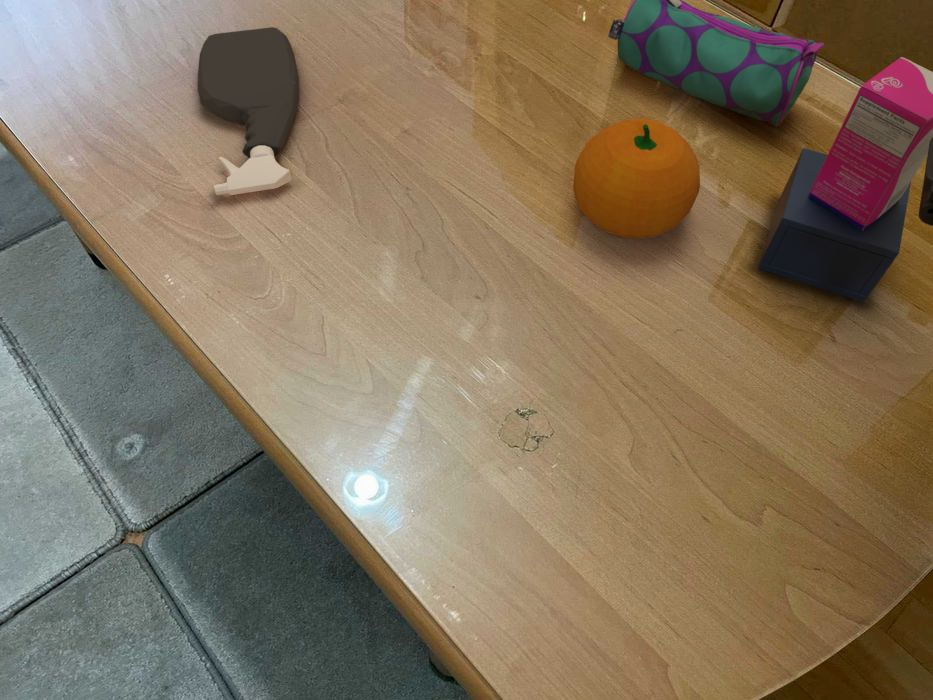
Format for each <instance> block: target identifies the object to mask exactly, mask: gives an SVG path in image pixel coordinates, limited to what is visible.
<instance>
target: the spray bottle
mask: <svg viewBox="0 0 933 700" xmlns="http://www.w3.org/2000/svg"><path fill="white" fill-rule="evenodd" d="M197 93H198V96H199V101H200V103H201V104H202V106H204V108H205V110H206V111H207V112H209V113H211V114H212V115H214V116H216V117H218V118H220V119H222V120H223V121H226V122H230V123H233V124H236V125H241V126H244V128H245V132H246V133H245V135H244V140H245V142H246V143H244V145H243V147H242V154H243V156H245V157H247V158H248V159H247V160H246V161H245V162H244V163H243V164H242V165H241V166H240V167H238V166H236V165H235V164H233V163H232V162H230V160H228V159H226V158H225V157H223V156H219V157H218V161H219V162H220V163H221V164H222V166H223V167H224V168H225V169H226V170H227V171H228V173H229V176H228V177H226V182H222V183H218V184H214V185H213V190H214V193H215V195H216V196H220V195H228V194H229V196H233V195H240V194H241V195H242V194H248V193H253V192H259V191H266V190H273V189H277V188H278V189H279V187H282V186H283V185H285V184H287V183H289V182H291V181H292V176H291V172H290V171H291V170H290V169H288V168H286V167H283V166H282V165H280V164H279V163H278V161H277V160H276V158H275V157H277V156H279V155H280V154H281V152H282V151H283V148H284V145H285V144H286V141H287V139H288V137H289V135H290V132H291V130H292V128H293V125H294V123H295V119H296V116H297V114H298V108H299V101H300V76H299V71H298V66H297V61H296V56H295V52H294V50H293V47H292V45H291V42H290V40H289V38H288V36H287V35H286V34H285V33H284V32H283V31H281V30H280V29H278V27H274V26H270V27H263V28H261V27H260V28H254V29H253V28H252V29H246V30H245V29H244V30H236V31H230V32H229V31H227V32H219V33H214V34H211V35H210V34H209V35H208V37H206V39H205V41H204V42H203V44H202V47H201V49H200V53H199V58H198V69H197Z"/></svg>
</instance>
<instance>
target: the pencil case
mask: <svg viewBox="0 0 933 700" xmlns="http://www.w3.org/2000/svg"><path fill="white" fill-rule="evenodd" d="M607 37H608V38H609V39H612V40H614V41H617V57H618V60H619V61H620V62H621V63H623V64H625V65H627V66H629V67H630V68H631V69H632V70H634V71H636V72H638V73H640V74H642V75H644V76H646V77H647V78H650V79H652V80H654V81H656V82H660V83H663V84H665V85H667V86H668V87H671V88H673V89H675V90H677V91H680V92H682V93H684V94H686V95H688V96H692V97H694V98H696V99H699V100H702V101H705V102H707V103H710V104H713V105H715V106H718V107H721V108H724V109H727V110H730V111H732V112H735V113H737V114H740V115H744V116H749V117H750V118H752V119H755V120H757V121H762V122H768V123H769V124H770V125H773V126H774V127H779V126H780V125H782V123H783V121H784V120H785V118H786V116H787V115H788V114H789V113H790V112H791V110H792V109H793V107H794V106H795V104H796V102H797V100H798V98H799V97H800V95H801V94H802V92H803V90H804V89H805V87H806V86H807V83H808V82H809V80H810V77H811V74H812V71H813V67H814V65H815V62H816V60H817V56H818V54H819V50H820V49H822V48H823V47H824V45H825V43H824V42H816V41H815V40H813V39H807V38H795V37H793V36H790V35H787V34H785V33H782V32H775V31H768V30H766V29H762V28H760V27H756V26H753V25H751V24H747V23H745V22H742V21H739V20H736V19H733V18H730V17H727V16H724V15H720V14H715V13H712V12H708V11H705V10H702V9H699V8H697V7H695V6H692V4H690V3H688V2H686V1H684V0H633V1H632V2H631V4H630V5H629V8H628V10H627V12H626V14H625V17H624V19H621V18H618V19H613V21H612V23H611V25H610V29H609V32H608V35H607Z"/></svg>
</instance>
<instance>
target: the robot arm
mask: <svg viewBox="0 0 933 700" xmlns="http://www.w3.org/2000/svg"><path fill="white" fill-rule="evenodd" d="M923 175H924V176H923V181H922V189H921V194H920V195H921V196H920V203H919V209H918V218H919V220H920V222H922V223H924V224H926V225H928V226H932V227H933V137H932V138H931V140H930V143H929V149H928V155H927V156H926V164H925V170H924V174H923Z"/></svg>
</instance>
